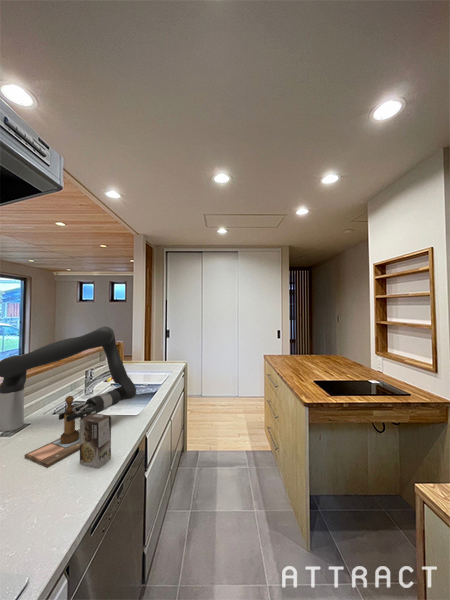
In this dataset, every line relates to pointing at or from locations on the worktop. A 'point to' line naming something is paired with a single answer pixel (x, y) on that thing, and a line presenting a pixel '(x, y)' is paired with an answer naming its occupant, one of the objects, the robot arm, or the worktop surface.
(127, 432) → the worktop surface
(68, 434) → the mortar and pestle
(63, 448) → the tile board
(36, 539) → the worktop surface
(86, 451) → the coffee box
